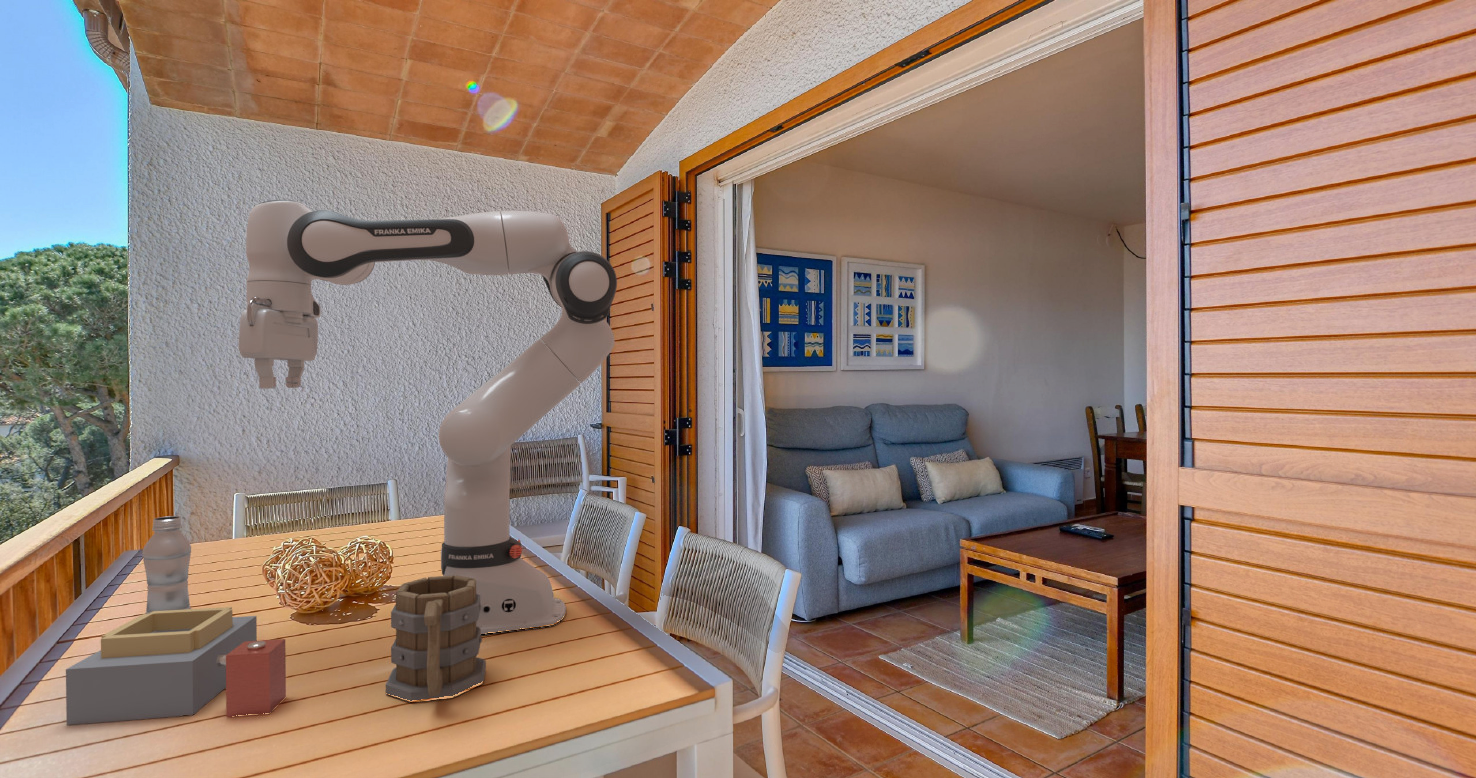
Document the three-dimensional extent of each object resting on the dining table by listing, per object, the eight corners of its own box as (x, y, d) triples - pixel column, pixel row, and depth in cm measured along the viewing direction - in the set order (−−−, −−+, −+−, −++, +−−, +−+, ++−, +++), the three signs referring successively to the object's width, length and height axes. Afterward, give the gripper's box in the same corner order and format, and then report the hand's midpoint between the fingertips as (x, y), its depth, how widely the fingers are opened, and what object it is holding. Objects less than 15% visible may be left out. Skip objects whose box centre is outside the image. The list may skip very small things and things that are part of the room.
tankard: (397, 670, 108) (396, 569, 108) (487, 661, 111) (486, 563, 111) (368, 733, 89) (367, 611, 88) (478, 720, 92) (477, 602, 92)
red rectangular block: (285, 697, 99) (285, 635, 99) (269, 714, 94) (269, 649, 94) (229, 701, 97) (228, 639, 97) (209, 718, 92) (209, 653, 92)
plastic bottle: (166, 646, 117) (165, 522, 117) (132, 643, 119) (130, 520, 118) (203, 632, 124) (202, 515, 123) (170, 629, 125) (169, 513, 125)
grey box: (262, 656, 113) (262, 595, 113) (192, 714, 93) (192, 641, 93) (160, 663, 110) (159, 600, 110) (66, 724, 91) (65, 649, 91)
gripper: (272, 295, 108) (273, 388, 108) (324, 308, 128) (325, 387, 128) (225, 294, 107) (226, 389, 107) (285, 308, 127) (286, 387, 127)
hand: (281, 388), depth 118 cm, fingers open, 8 cm apart
